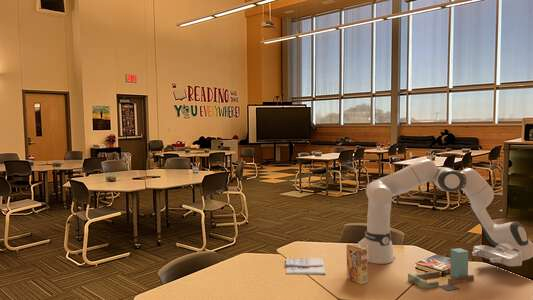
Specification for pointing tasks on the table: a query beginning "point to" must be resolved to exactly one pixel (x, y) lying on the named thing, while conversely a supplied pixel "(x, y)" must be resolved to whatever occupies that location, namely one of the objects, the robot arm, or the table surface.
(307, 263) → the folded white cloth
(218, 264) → the table surface
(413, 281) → the channel
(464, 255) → the teal block
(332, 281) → the table surface
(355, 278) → the candy box
